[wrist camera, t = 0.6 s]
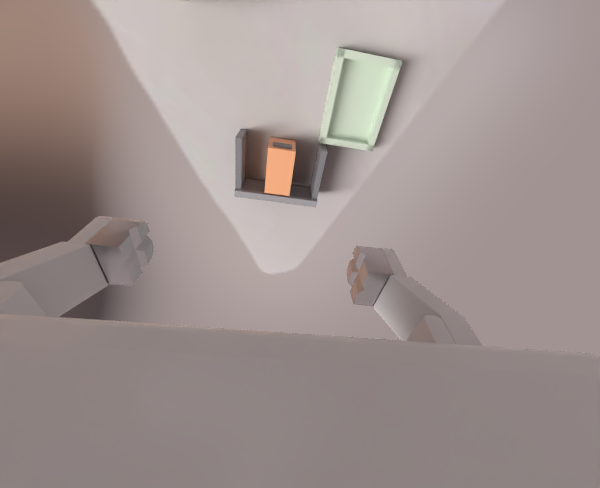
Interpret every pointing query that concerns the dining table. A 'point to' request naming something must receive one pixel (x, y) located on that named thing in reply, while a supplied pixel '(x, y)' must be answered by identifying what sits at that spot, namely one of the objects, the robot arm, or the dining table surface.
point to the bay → (257, 187)
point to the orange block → (280, 166)
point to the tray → (357, 98)
